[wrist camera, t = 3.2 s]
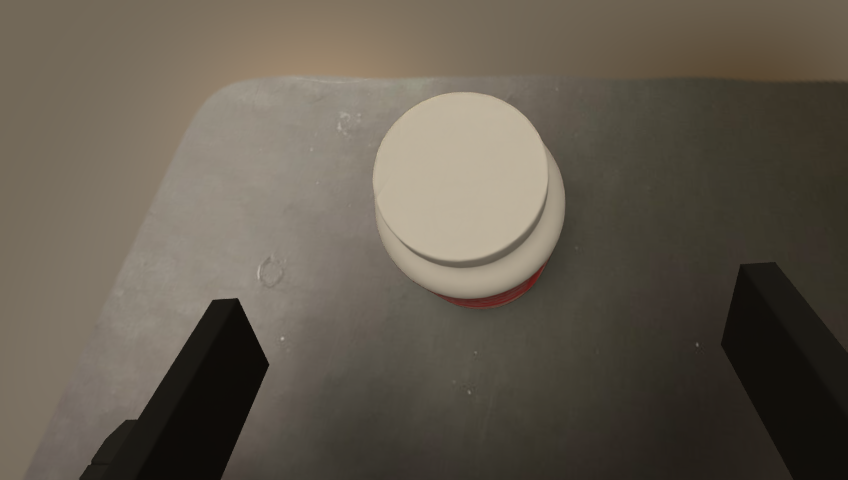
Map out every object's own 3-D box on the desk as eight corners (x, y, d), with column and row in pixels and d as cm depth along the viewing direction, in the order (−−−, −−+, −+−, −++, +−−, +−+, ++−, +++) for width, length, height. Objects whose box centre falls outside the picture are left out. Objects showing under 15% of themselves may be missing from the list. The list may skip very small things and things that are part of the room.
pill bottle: (561, 295, 23) (607, 265, 12) (429, 321, 24) (363, 313, 13) (530, 167, 24) (548, 37, 13) (406, 195, 25) (329, 93, 14)
